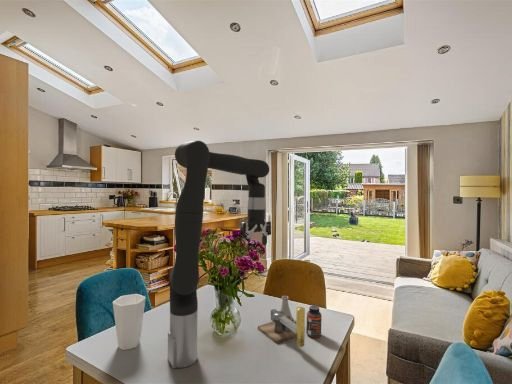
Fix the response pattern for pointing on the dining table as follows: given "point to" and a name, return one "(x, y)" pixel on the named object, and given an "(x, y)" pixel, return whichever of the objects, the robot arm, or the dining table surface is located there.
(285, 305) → the flask
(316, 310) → the supplement bottle
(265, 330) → the base
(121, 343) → the cup
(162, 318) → the dining table surface
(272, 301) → the dining table surface
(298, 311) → the lever
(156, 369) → the dining table surface
